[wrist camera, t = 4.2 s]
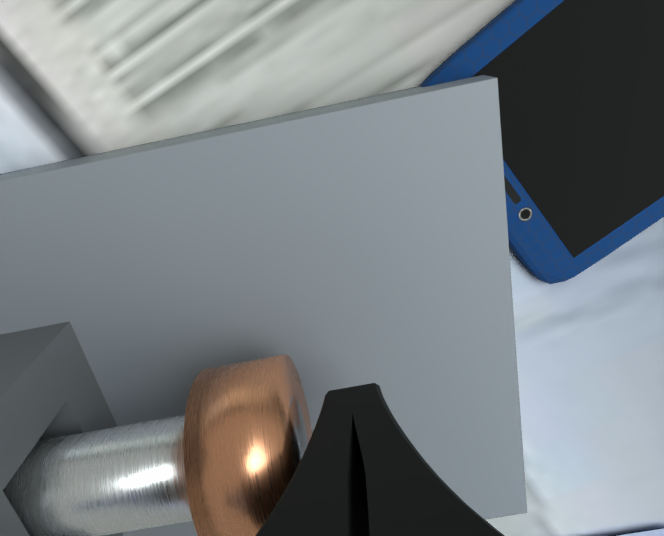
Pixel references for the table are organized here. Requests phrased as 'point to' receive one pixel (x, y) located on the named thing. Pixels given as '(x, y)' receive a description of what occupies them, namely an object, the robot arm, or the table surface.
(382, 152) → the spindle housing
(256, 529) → the copper and silver rod
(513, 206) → the cell phone
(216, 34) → the table surface
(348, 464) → the robot arm
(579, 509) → the table surface
